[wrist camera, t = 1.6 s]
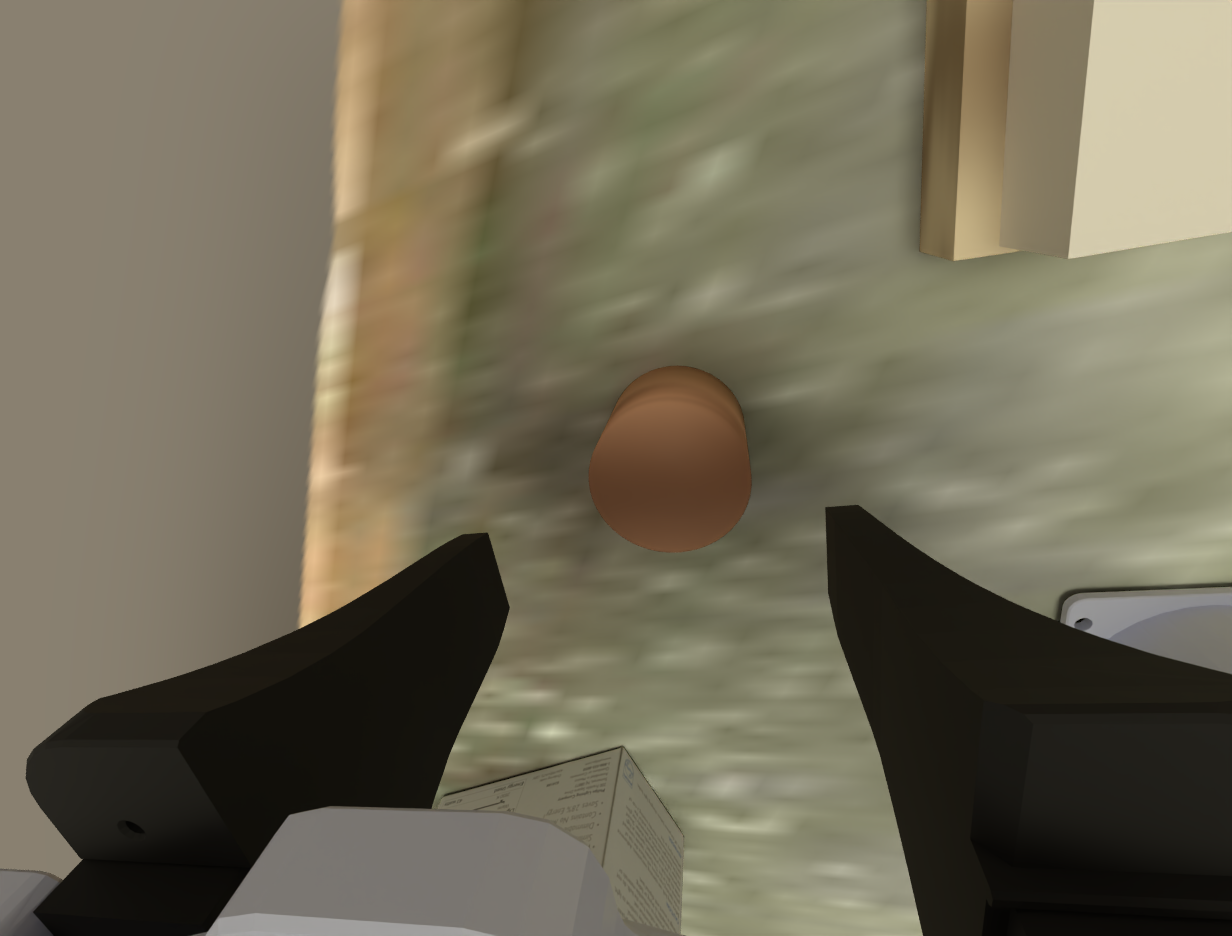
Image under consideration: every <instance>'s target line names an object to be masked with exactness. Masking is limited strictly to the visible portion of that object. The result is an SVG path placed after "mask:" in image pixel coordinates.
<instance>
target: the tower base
mask: <svg viewBox="0 0 1232 936" xmlns="http://www.w3.org/2000/svg"><path fill="white" fill-rule="evenodd" d="M1012 11H1013V0H927V10H926V45H925V80H924V115H923V150H922V185H921V220H920V252H923V253H926V254H930V255H934V256H937V257H941V258H944V259H948V260H952V261H957V260H964V259H970V258H977V257H984V256H990V255H997V254H1004V253H1010V252H1017V251H1022V250H1017V249H1011V248H1006V247H1000V246H999V240H1000V222H1001V205H1002V187H1003V169H1004V151H1005V134H1006V116H1007V99H1008V81H1009V63H1010V46H1011V28H1012Z"/></svg>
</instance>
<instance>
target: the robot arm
mask: <svg viewBox="0 0 1232 936" xmlns="http://www.w3.org/2000/svg"><path fill="white" fill-rule="evenodd" d="M825 509H826V539H827V569H828V594H829V598H830V603H831V608H832V613H833V617H834V622H835V626H836V630H837V635H838V638H839V641H840V644H841V646H842V649H843V652H844V655H845V658H846V660H847V663H848V666H849V669H850V671H851V674H852V677H853V680H854V682H855V685H856V688H857V691H858V693H859V696H860V699H861V701H862V704H863V707H864V710H865V712H866V715H867V718H868V721H869V723H870V726H871V729H872V732H873V734H874V738H875V741H876V744H877V747H878V750H879V754H880V757H881V761H882V765H883V769H884V773H885V777H886V781H887V785H888V789H889V793H890V796H891V800H892V804H893V808H894V813H895V817H896V821H897V825H898V829H899V833H900V838H901V842H902V846H903V850H904V854H905V859H906V863H907V867H908V871H909V876H910V880H911V884H912V889H913V893H914V898H915V902H916V906H917V911H918V915H919V920H920V924H921V928H922V933H923V936H1232V587H1214V588H1190V589H1166V590H1143V591H1119V592H1095V593H1079V594H1075V595H1072V596H1070V597H1069V598H1068V599H1067V600H1066V601H1065V602H1064V604H1063V607H1062V613H1061V620H1060V622H1058V621H1056V620H1053V619H1051V618H1048V617H1046V616H1043V615H1041V614H1038V613H1036V612H1033V611H1031V610H1029V609H1026V608H1024V607H1022V606H1019V605H1017V604H1015V603H1013V602H1011V601H1008V600H1006V599H1004V598H1002V597H1000V596H998V595H996V594H994V593H992V592H990V591H988V590H986V589H984V588H982V587H980V586H978V585H976V584H975V583H973V582H971V581H969V580H967V579H965V578H964V577H962V576H960V575H958V574H957V573H955V572H953V571H952V570H950V569H949V568H947V567H945V566H944V565H942V564H940V563H939V562H937V561H935V560H934V559H932V558H931V557H929V556H928V555H926V554H925V553H923V552H922V551H920V550H919V549H917V548H916V547H914V546H913V545H911V544H910V543H909V542H907V541H906V540H904V539H903V538H901V537H900V536H899V535H897V534H896V533H895V532H893V531H892V530H891V529H889V528H888V527H887V526H885V525H884V524H883V523H881V522H880V521H879V520H877V519H876V518H875V517H874V516H872V515H871V514H870V513H868V512H867V511H866V510H864V509H863V508H862V507H860V506H859V505H849V506H836V507H825ZM509 608H510V607H509V604H508V600H507V597H506V593H505V590H504V586H503V583H502V579H501V576H500V573H499V569H498V566H497V562H496V559H495V555H494V552H493V548H492V545H491V541H490V538H489V535H488V533H476V534H463V535H461V536H459V537H456V538H454V539H453V540H451V541H449V542H447V543H445V544H444V545H442V546H440V547H439V548H437V549H436V550H434V551H432V552H431V553H429V554H428V555H426V556H424V557H423V558H421V559H420V560H418V561H417V562H415V563H414V564H412V565H410V566H409V567H407V568H406V569H404V570H403V571H401V572H400V573H398V574H396V575H395V576H393V577H392V578H390V579H389V580H387V581H385V582H384V583H382V584H380V585H379V586H377V587H375V588H374V589H372V590H370V591H369V592H367V593H365V594H364V595H362V596H360V597H359V598H357V599H355V600H354V601H352V602H350V603H348V604H347V605H345V606H343V607H341V608H339V609H338V610H336V611H334V612H332V613H330V614H328V615H326V616H324V617H322V618H320V619H318V620H316V621H314V622H312V623H310V624H308V625H306V626H304V627H302V628H300V629H298V630H296V631H294V632H292V633H290V634H287V635H285V636H282V637H280V638H278V639H275V640H273V641H271V642H269V643H266V644H264V645H262V646H259V647H257V648H254V649H252V650H250V651H247V652H245V653H242V654H240V655H237V656H234V657H232V658H229V659H226V660H224V661H221V662H218V663H215V664H213V665H210V666H207V667H204V668H201V669H198V670H195V671H192V672H189V673H186V674H183V675H180V676H177V677H174V678H171V679H168V680H164V681H161V682H157V683H153V684H150V685H147V686H143V687H139V688H136V689H132V690H129V691H125V692H122V693H118V694H115V695H111V696H107V697H103V698H100V699H98V700H96V701H94V702H92V703H91V704H89V705H87V706H86V707H85V708H83V709H82V710H81V711H80V712H79V713H77V714H76V715H75V716H74V717H72V718H71V719H70V720H69V721H67V722H66V723H65V724H64V725H63V726H61V727H60V728H59V729H58V730H56V731H55V732H54V733H53V734H51V735H50V736H49V737H48V738H47V739H46V740H44V741H43V742H42V743H40V744H39V745H38V746H37V747H36V748H34V749H33V751H32V752H31V754H30V755H29V757H28V759H27V767H26V780H27V783H28V786H29V789H30V792H31V794H32V795H33V797H34V799H35V800H36V802H37V803H38V805H39V806H40V808H41V809H42V810H43V812H44V813H45V814H46V815H47V817H48V818H49V819H50V821H51V822H52V823H53V824H54V825H55V827H56V828H57V829H58V831H59V832H60V833H61V834H62V836H63V837H64V838H65V839H66V841H67V842H68V843H69V844H70V846H71V847H72V848H73V850H74V851H75V852H76V853H77V855H78V856H79V857H80V858H81V859H83V860H82V861H81V862H80V863H79V864H78V865H77V866H76V867H75V868H74V869H73V870H72V871H71V872H70V873H69V875H68V876H67V877H66V878H65V879H64V880H62V879H60V878H59V877H57V876H55V875H53V874H51V873H47V872H43V871H33V870H16V869H0V936H685V935H681V934H677V933H674V932H670V931H667V930H663V929H659V928H656V927H652V926H648V925H645V924H641V923H638V922H634V921H630V920H626V919H622V918H621V916H620V914H619V912H618V909H617V905H616V902H615V898H614V894H613V891H612V887H611V883H610V879H609V877H608V875H607V874H606V872H605V871H604V869H603V868H602V866H601V865H600V863H599V862H598V860H597V859H596V857H595V856H594V854H593V853H592V851H591V850H590V848H589V847H588V846H587V844H586V843H585V842H584V841H583V840H581V839H580V838H578V837H576V836H575V835H573V834H571V833H570V832H568V831H567V830H565V829H563V828H562V827H560V826H558V825H557V824H555V823H553V822H552V821H550V820H548V819H543V818H538V817H533V816H529V815H524V814H519V813H514V812H509V811H489V810H453V809H431V808H432V804H433V801H434V798H435V795H436V792H437V789H438V786H439V783H440V781H441V778H442V775H443V772H444V769H445V766H446V763H447V760H448V757H449V754H450V752H451V750H452V747H453V745H454V742H455V740H456V738H457V735H458V733H459V731H460V729H461V726H462V724H463V722H464V720H465V718H466V716H467V714H468V712H469V709H470V707H471V705H472V703H473V701H474V699H475V697H476V694H477V692H478V690H479V688H480V686H481V684H482V682H483V680H484V677H485V675H486V673H487V671H488V669H489V666H490V664H491V662H492V660H493V658H494V655H495V653H496V651H497V649H498V646H499V643H500V640H501V637H502V633H503V630H504V627H505V623H506V619H507V616H508V612H509ZM1081 618H1085V619H1084V620H1083V621H1081V622H1079V623H1075V622H1076V621H1077V620H1079V619H1081Z"/></svg>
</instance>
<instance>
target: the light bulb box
mask: <svg viewBox="0 0 1232 936" xmlns="http://www.w3.org/2000/svg"><path fill="white" fill-rule="evenodd" d="M437 809H453V810H489V811H509V812H514V813H519V814H524V815H529V816H533V817H538V818H543V819H548V820H550V821H552V822H553V823H555V824H557V825H558V826H560V827H562V828H563V829H565V830H567V831H568V832H570V833H571V834H573V835H575V836H576V837H578V838H580V839H581V840H583V841H584V842H585V843H586V844H587V846H588V847H589V848H590V850H591V851H592V853H593V854H594V856H595V857H596V859H597V860H598V862H599V863H600V865H601V866H602V868H603V869H604V871H605V872H606V874H607V875H608V877H609V879H610V883H611V887H612V891H613V894H614V898H615V902H616V905H617V909H618V912H619V914H620V916H621V918H622V919H626V920H630V921H634V922H638V923H641V924H645V925H648V926H652V927H656V928H659V929H663V930H667V931H670V932H674V933H677V934H681V909H682V882H683V851H684V836H683V834H682V833H681V831H680V830H679V828H678V827H677V825H676V824H675V822H674V821H673V819H672V818H671V816H670V815H669V813H668V812H667V811H666V809H665V808H664V806H663V804H662V803H661V802H660V800H659V799H658V797H657V796H656V794H655V793H654V791H653V790H652V788H651V787H650V786H649V784H648V783H647V781H646V779H645V778H644V777H643V775H642V774H641V772H640V771H639V769H638V768H637V766H636V765H635V763H634V762H633V761H632V759H631V758H630V756H629V755H628V753H627V752H626V750H625V749H624V748H623V747H621V748H619V749H615V750H612V751H608V752H604V753H601V754H597V755H594V756H590V757H586V758H583V759H579V760H576V761H572V762H568V763H564V764H561V765H557V766H554V767H550V768H547V769H543V770H539V771H535V772H532V773H528V774H525V775H521V776H517V777H514V778H510V779H507V780H503V781H499V782H495V783H492V784H488V785H485V786H481V787H478V788H474V789H470V790H467V791H463V792H460V793H456V794H452V795H448V796H445V797H443V798H442V799H441V801H440V804H439V806H438V808H437Z"/></svg>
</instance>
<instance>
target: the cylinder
mask: <svg viewBox="0 0 1232 936" xmlns="http://www.w3.org/2000/svg"><path fill="white" fill-rule="evenodd" d="M589 486H590V492H591V495H592V499H593V501H594V504H595V506H596V508H597V510H598V511H599V513H600V515H601V516H602V518H603V519H604V520H605V522H606V523H607V524H608V525H609V526H610V527H611V528H612V529H613V530H614V531H615V532H617V533H618V534H619V535H620V536H622V537H623V538H625V539H627V540H628V541H630V542H632V543H634V544H636V545H638V546H641V547H644V548H647V549H650V550H655V551H660V552H685V551H691V550H695V549H699V548H702V547H705V546H707V545H709V544H711V543H713V542H715V541H717V540H719V539H720V538H721V537H723V536H724V535H726V534H727V533H728V532H729V531H730V530H731V529H732V528H733V527H734V526H735V525H736V524H737V522H738V521H739V520H740V518H741V516H742V515H743V513H744V511H745V509H746V507H747V505H748V501H749V498H750V493H751V486H752V484H751V469H750V461H749V454H748V446H747V438H746V431H745V423H744V417H743V413H742V410H741V407H740V405H739V403H738V401H737V399H736V397H735V396H734V394H733V393H732V392H731V390H730V389H729V388H728V387H727V386H726V385H725V384H724V383H723V382H721V381H720V380H719V379H717V378H716V377H714V376H713V375H711V374H709V373H707V372H705V371H702V370H699V369H696V368H692V367H687V366H668V367H662V368H658V369H655V370H652V371H650V372H648V373H645V374H643V375H642V376H640V377H639V378H637V379H636V380H634V381H633V382H632V383H631V384H630V385H629V386H628V387H627V388H626V389H625V390H624V392H623V393H622V395H621V396H620V398H619V399H618V401H617V404H616V406H615V408H614V410H613V412H612V414H611V416H610V418H609V420H608V422H607V424H606V427H605V429H604V431H603V433H602V435H601V437H600V439H599V441H598V443H597V445H596V447H595V450H594V452H593V454H592V458H591V461H590V467H589Z"/></svg>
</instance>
